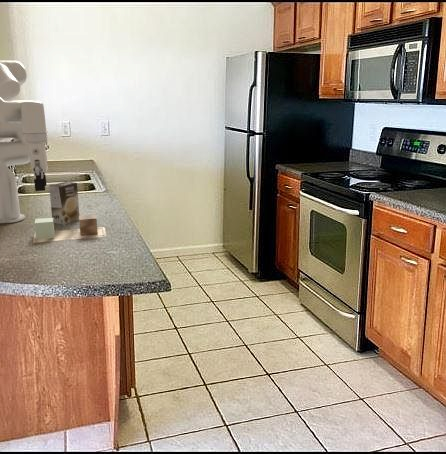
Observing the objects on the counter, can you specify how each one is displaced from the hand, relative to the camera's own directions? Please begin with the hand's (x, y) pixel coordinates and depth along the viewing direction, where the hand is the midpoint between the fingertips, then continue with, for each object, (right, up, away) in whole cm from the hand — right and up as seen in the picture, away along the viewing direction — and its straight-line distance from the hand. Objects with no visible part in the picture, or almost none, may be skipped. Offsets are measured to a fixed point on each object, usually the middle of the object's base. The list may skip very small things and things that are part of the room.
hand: (41, 188), depth 174 cm
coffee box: (+1, -12, +26) cm, 29 cm away
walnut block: (+14, -16, +9) cm, 23 cm away
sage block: (0, -17, +5) cm, 18 cm away
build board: (+8, -17, +8) cm, 20 cm away
